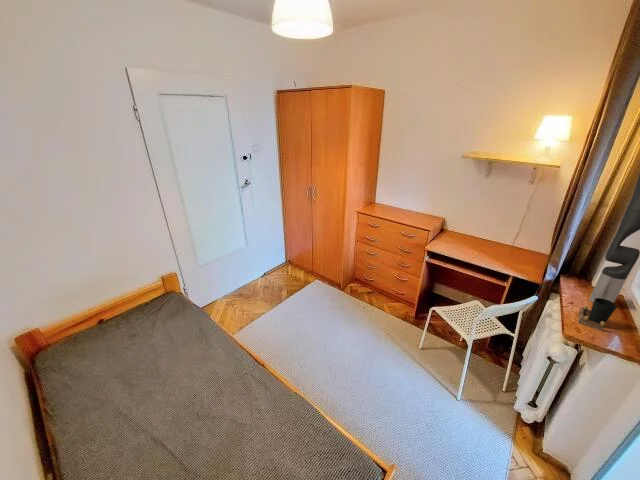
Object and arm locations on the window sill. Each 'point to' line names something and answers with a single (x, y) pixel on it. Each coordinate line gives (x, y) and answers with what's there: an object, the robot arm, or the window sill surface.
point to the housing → (587, 322)
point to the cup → (601, 310)
